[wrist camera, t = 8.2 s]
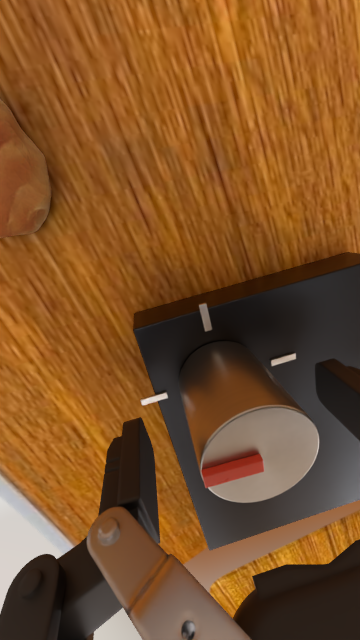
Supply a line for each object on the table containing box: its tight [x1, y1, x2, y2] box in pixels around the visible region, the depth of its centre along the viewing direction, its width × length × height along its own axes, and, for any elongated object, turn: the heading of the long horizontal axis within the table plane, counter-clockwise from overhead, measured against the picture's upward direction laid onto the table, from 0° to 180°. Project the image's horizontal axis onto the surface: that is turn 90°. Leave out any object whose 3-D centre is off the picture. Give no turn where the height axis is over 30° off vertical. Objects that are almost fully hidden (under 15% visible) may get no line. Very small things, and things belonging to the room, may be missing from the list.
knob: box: [179, 341, 319, 503], centre depth 11 cm, size 4×4×6 cm
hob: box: [133, 252, 360, 550], centre depth 17 cm, size 18×14×3 cm
